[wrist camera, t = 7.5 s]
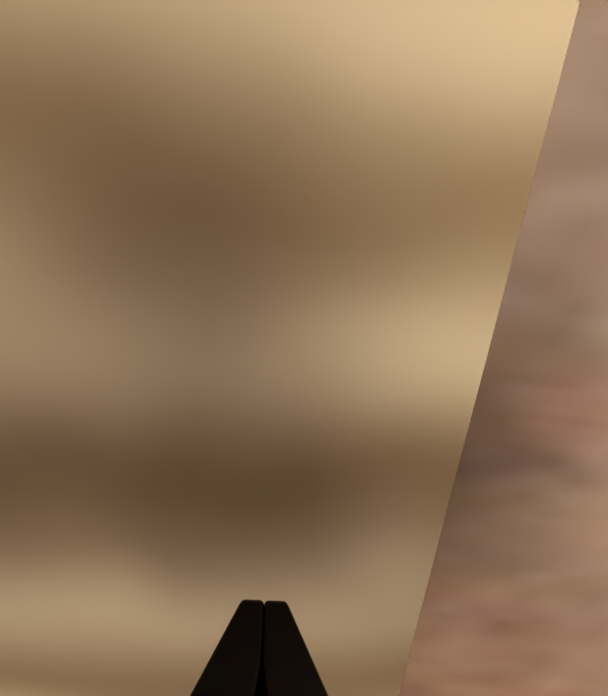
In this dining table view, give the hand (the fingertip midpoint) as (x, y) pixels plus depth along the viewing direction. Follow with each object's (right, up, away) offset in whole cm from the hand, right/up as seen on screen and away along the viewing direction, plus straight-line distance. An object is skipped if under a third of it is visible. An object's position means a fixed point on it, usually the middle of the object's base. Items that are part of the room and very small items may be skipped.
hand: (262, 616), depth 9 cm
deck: (-2, +3, +6) cm, 7 cm away
